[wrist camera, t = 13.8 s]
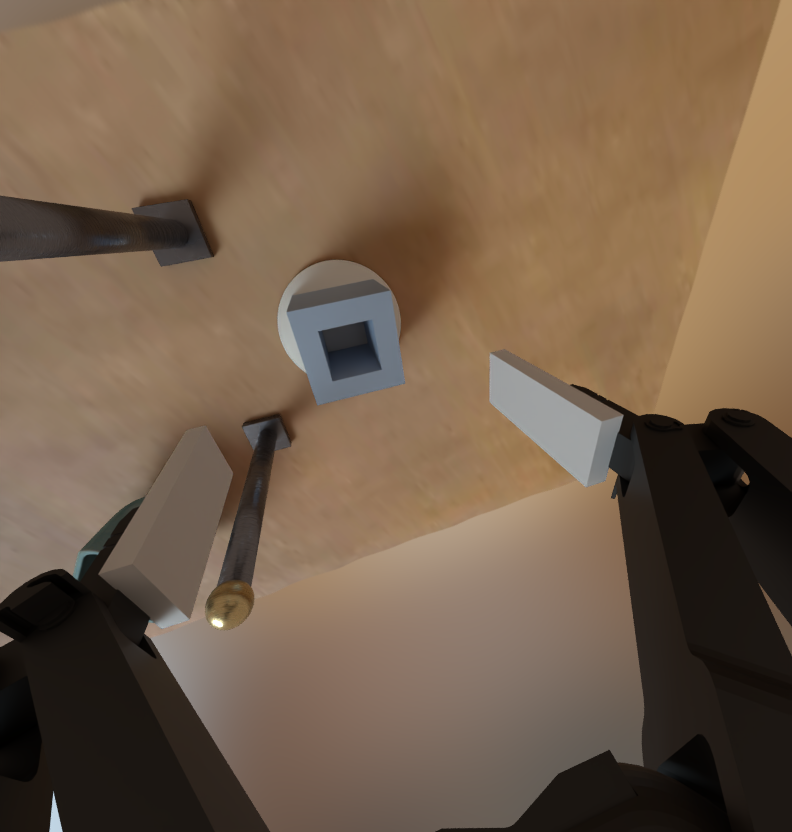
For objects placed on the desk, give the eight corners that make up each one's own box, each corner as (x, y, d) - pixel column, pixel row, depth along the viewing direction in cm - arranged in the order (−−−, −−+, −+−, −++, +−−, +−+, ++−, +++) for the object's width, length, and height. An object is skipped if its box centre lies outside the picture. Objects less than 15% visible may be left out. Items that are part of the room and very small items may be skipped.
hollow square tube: (316, 372, 30) (317, 405, 24) (292, 295, 26) (286, 312, 20) (386, 355, 30) (405, 383, 24) (373, 278, 27) (390, 290, 21)
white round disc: (300, 392, 31) (300, 395, 30) (258, 273, 25) (257, 274, 25) (406, 367, 32) (408, 369, 32) (389, 248, 26) (390, 248, 26)
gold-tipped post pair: (257, 451, 33) (206, 653, 17) (137, 209, 22) (-369, 124, 6) (291, 442, 33) (272, 631, 17) (190, 200, 22) (-135, 97, 6)
